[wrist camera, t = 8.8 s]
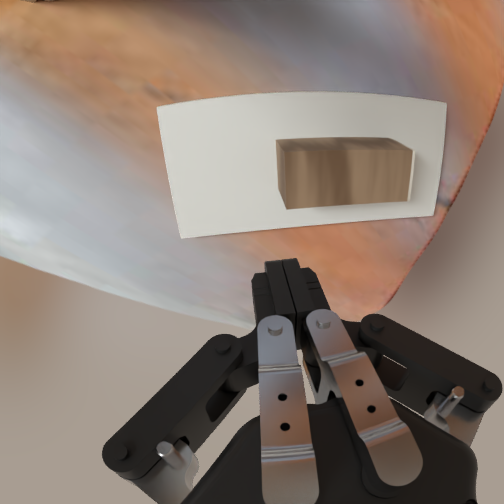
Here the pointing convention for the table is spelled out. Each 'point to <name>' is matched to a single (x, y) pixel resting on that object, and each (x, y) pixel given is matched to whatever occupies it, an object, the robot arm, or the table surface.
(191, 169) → the white board
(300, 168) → the walnut block
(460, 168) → the table surface
